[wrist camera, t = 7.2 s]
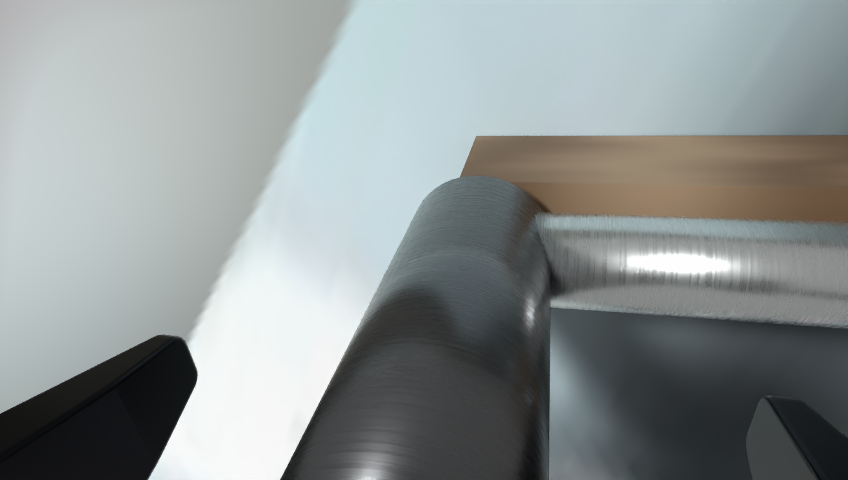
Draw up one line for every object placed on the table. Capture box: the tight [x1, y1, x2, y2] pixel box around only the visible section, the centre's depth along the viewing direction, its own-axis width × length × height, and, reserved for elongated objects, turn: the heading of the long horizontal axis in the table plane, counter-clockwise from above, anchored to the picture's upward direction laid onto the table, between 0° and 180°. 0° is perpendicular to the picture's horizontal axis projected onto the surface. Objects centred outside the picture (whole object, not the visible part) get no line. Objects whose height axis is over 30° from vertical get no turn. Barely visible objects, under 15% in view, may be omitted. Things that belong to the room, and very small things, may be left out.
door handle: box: [280, 176, 848, 480], centre depth 7 cm, size 13×3×8 cm, turn 94°
